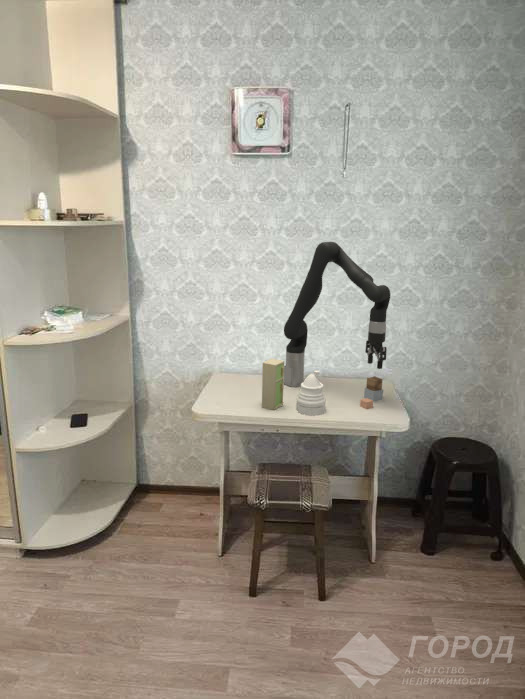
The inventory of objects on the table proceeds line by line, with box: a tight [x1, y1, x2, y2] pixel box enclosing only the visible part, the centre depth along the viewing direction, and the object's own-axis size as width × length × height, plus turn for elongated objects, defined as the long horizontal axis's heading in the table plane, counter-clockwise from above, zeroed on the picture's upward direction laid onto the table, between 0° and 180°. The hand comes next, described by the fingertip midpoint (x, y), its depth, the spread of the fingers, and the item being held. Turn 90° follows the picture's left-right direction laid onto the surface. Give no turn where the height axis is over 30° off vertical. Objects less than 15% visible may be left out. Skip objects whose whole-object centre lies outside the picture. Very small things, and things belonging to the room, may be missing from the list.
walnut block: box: [365, 376, 383, 391], centre depth 246 cm, size 5×5×5 cm
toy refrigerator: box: [261, 358, 285, 411], centre depth 235 cm, size 8×7×21 cm
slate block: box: [363, 387, 384, 403], centre depth 247 cm, size 6×6×5 cm
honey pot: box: [295, 370, 327, 416], centre depth 232 cm, size 13×13×18 cm
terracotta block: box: [359, 398, 374, 410], centre depth 237 cm, size 4×4×4 cm
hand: (374, 366), depth 238 cm, fingers open, 8 cm apart
